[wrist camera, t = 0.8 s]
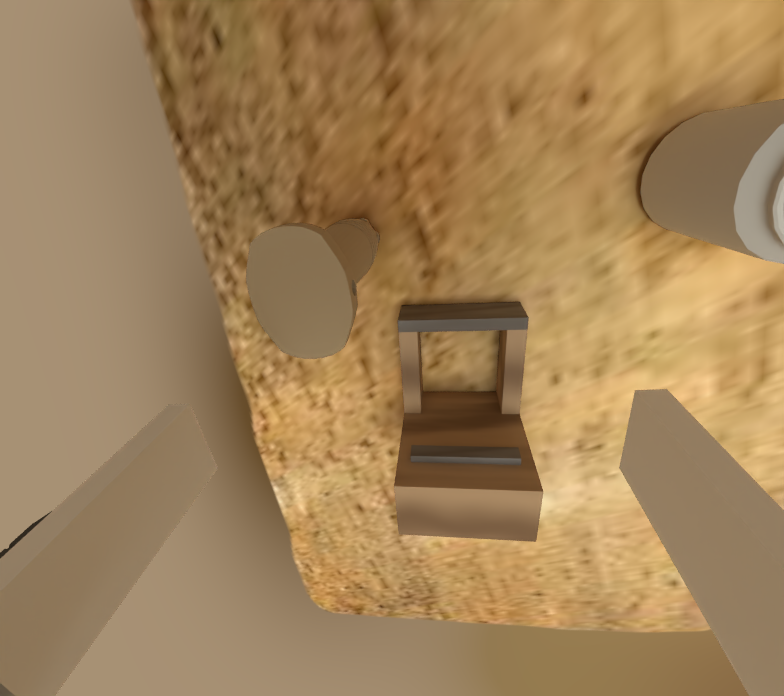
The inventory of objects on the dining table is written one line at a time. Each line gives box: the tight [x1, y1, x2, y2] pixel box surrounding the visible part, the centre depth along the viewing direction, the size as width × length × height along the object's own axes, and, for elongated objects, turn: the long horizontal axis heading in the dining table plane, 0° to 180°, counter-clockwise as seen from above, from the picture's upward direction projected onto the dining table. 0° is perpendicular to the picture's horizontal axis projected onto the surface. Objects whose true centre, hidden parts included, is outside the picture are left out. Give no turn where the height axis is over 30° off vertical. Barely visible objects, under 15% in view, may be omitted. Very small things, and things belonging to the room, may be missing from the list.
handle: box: [246, 218, 380, 359], centre depth 24 cm, size 5×6×15 cm
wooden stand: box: [394, 302, 543, 542], centre depth 30 cm, size 14×10×12 cm
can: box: [640, 99, 784, 264], centre depth 21 cm, size 8×8×12 cm
